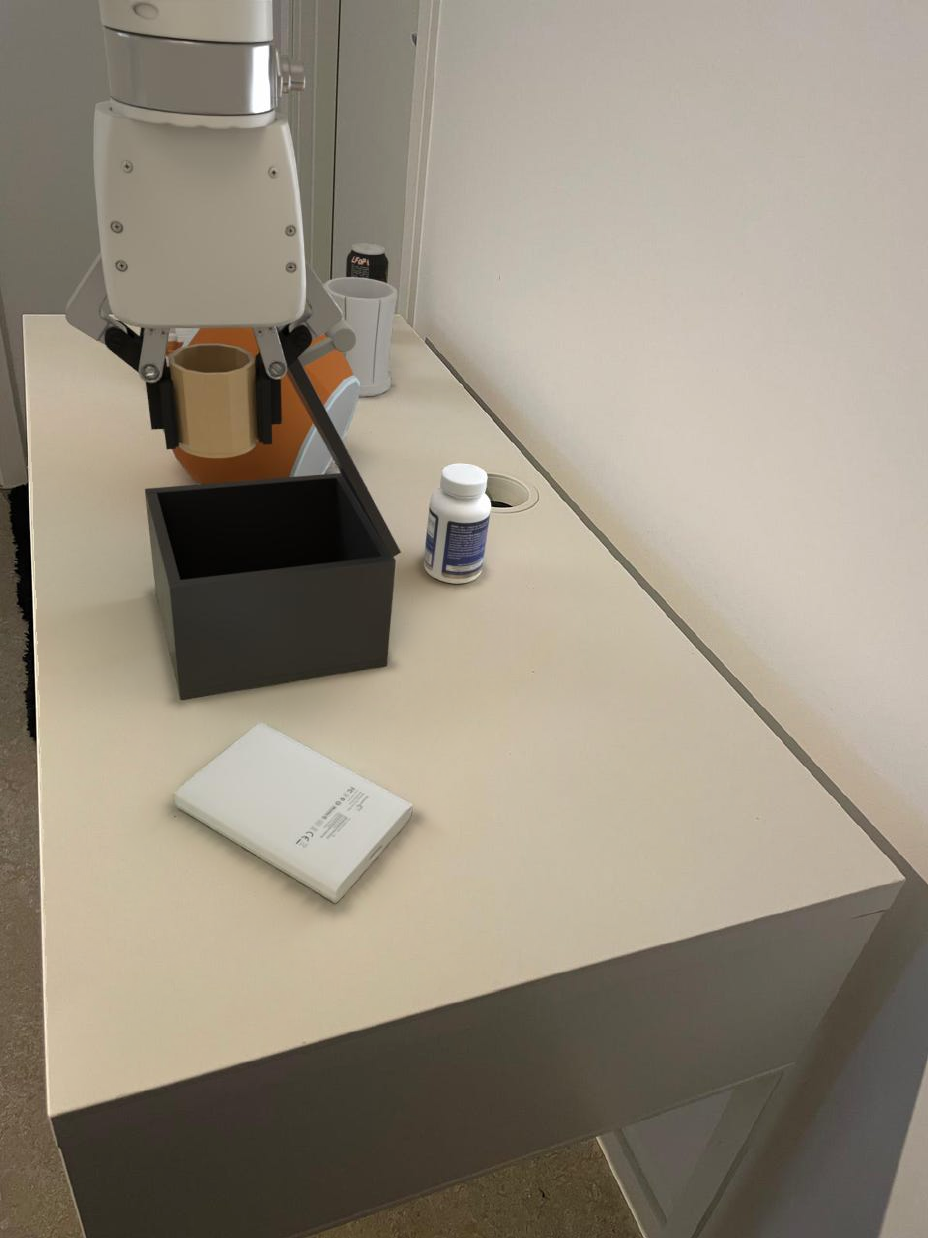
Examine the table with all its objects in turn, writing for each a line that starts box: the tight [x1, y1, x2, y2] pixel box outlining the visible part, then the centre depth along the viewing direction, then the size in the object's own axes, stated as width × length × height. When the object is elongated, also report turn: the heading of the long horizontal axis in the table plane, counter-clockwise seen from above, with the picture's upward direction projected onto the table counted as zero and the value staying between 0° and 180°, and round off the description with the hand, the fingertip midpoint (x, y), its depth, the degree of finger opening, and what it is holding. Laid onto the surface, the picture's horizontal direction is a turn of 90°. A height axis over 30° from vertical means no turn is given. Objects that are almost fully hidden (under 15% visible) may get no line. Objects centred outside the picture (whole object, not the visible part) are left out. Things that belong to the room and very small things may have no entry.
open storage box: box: [144, 472, 397, 701], centre depth 69 cm, size 16×14×10 cm
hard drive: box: [174, 722, 414, 904], centre depth 57 cm, size 2×8×12 cm
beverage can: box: [345, 242, 390, 284], centre depth 126 cm, size 6×6×12 cm
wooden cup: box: [168, 343, 258, 458], centre depth 52 cm, size 5×5×5 cm
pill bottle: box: [423, 462, 492, 585], centre depth 80 cm, size 5×5×10 cm
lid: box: [276, 317, 402, 558], centre depth 64 cm, size 16×14×5 cm
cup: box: [323, 276, 398, 398], centre depth 110 cm, size 10×9×12 cm
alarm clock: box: [161, 326, 360, 484], centre depth 87 cm, size 19×18×17 cm
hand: (217, 433), depth 53 cm, fingers closed on wooden cup, 4 cm apart
